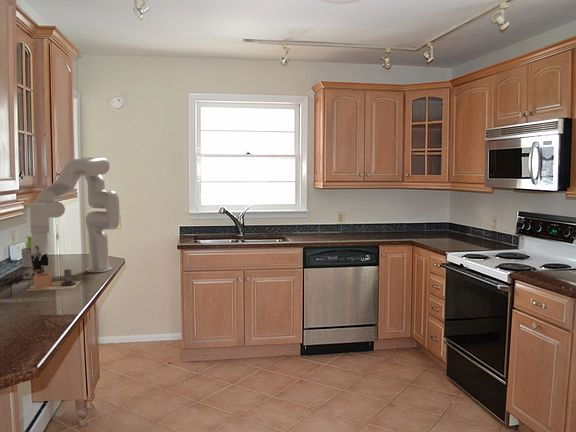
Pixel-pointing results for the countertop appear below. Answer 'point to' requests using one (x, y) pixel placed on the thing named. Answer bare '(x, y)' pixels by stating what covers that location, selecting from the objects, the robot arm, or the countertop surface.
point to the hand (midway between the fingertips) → (41, 267)
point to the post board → (60, 283)
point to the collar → (42, 280)
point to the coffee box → (29, 265)
